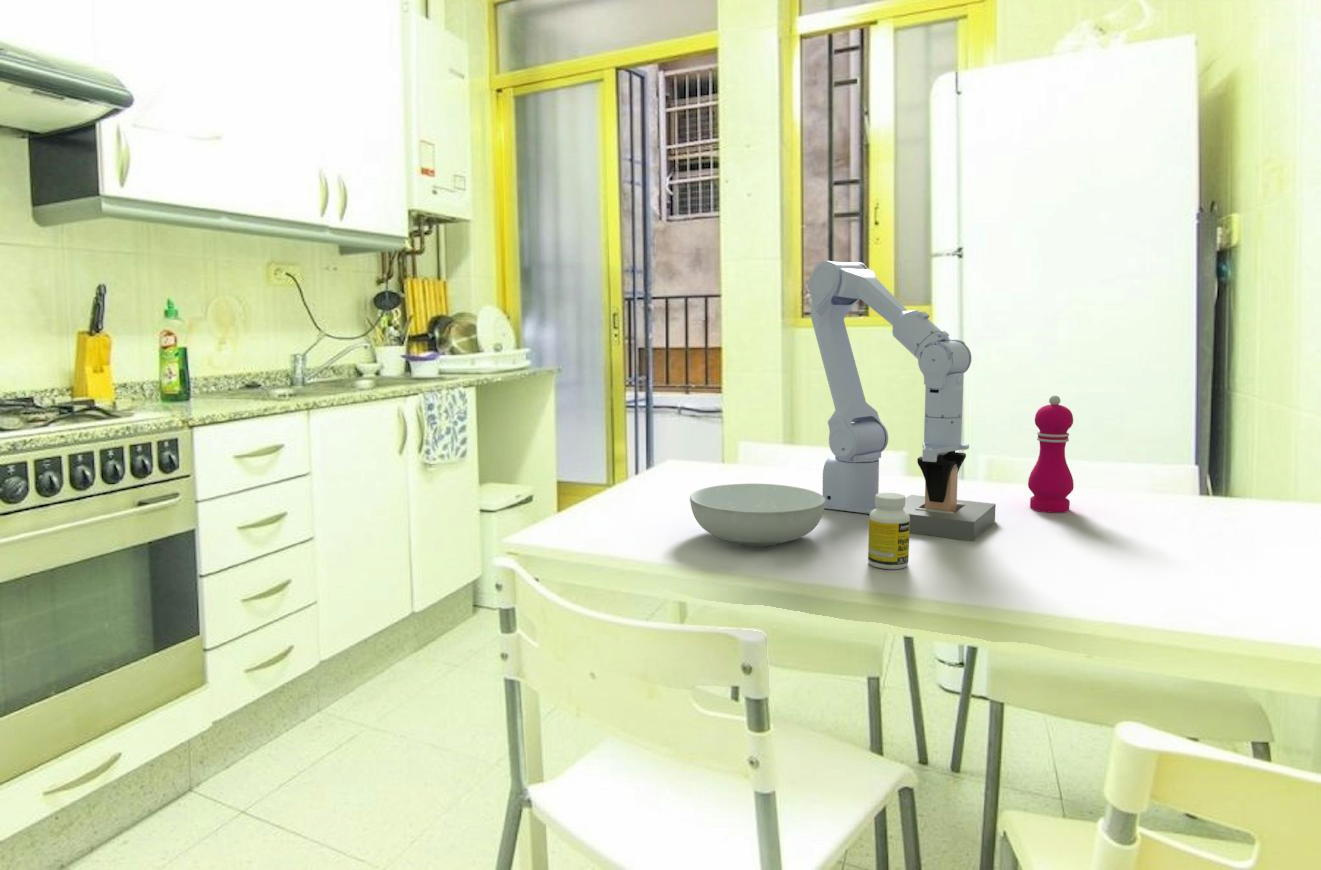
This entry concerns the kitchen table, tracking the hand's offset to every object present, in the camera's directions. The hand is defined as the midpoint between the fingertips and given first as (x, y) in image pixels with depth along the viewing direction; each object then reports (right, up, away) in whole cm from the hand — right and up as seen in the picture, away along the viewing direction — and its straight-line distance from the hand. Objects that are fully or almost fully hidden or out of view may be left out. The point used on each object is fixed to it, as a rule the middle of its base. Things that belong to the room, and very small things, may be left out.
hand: (940, 498), depth 132 cm
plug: (0, -3, 0) cm, 3 cm away
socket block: (0, -4, +1) cm, 4 cm away
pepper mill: (+23, -3, +10) cm, 25 cm away
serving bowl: (-31, -6, -5) cm, 31 cm away
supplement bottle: (-14, -8, -20) cm, 25 cm away
